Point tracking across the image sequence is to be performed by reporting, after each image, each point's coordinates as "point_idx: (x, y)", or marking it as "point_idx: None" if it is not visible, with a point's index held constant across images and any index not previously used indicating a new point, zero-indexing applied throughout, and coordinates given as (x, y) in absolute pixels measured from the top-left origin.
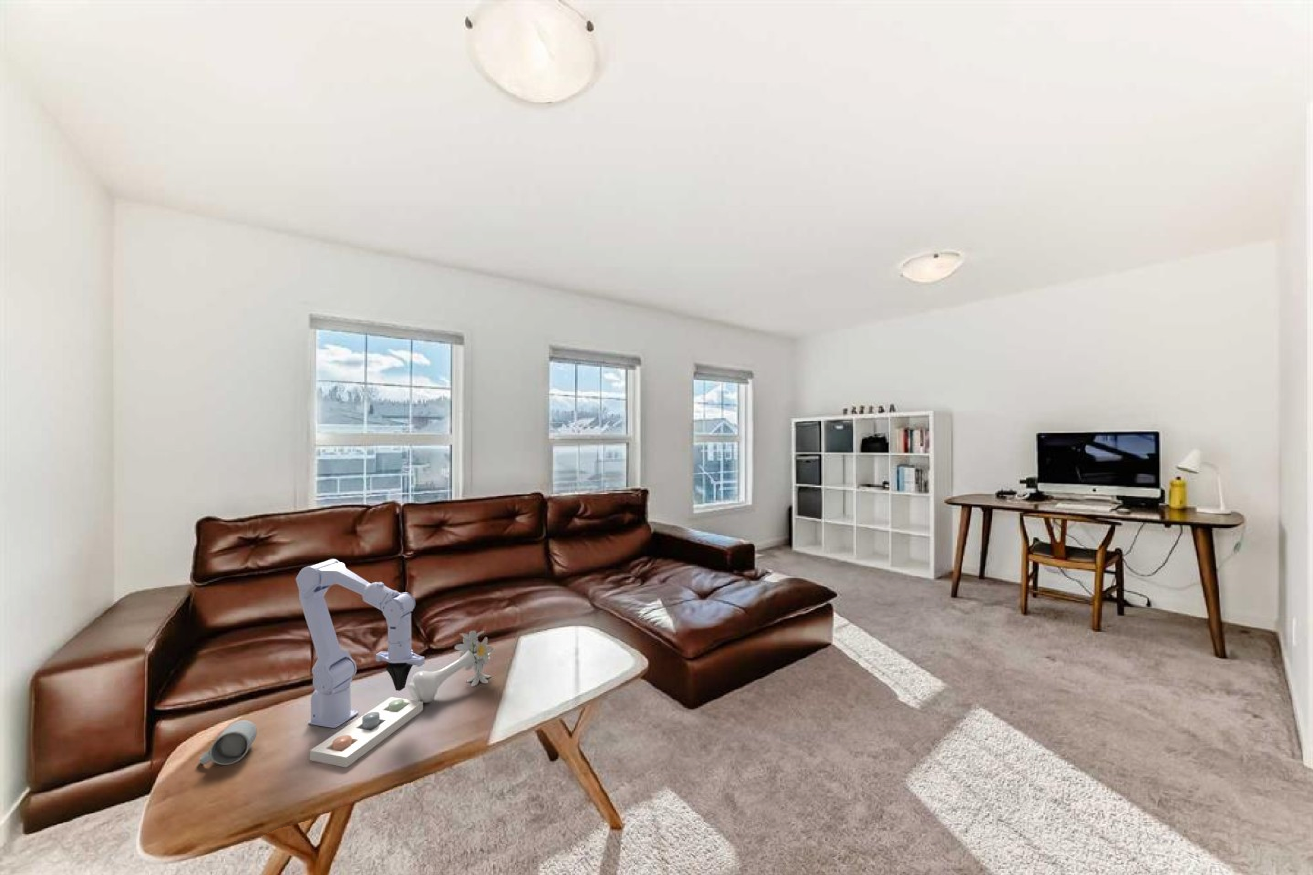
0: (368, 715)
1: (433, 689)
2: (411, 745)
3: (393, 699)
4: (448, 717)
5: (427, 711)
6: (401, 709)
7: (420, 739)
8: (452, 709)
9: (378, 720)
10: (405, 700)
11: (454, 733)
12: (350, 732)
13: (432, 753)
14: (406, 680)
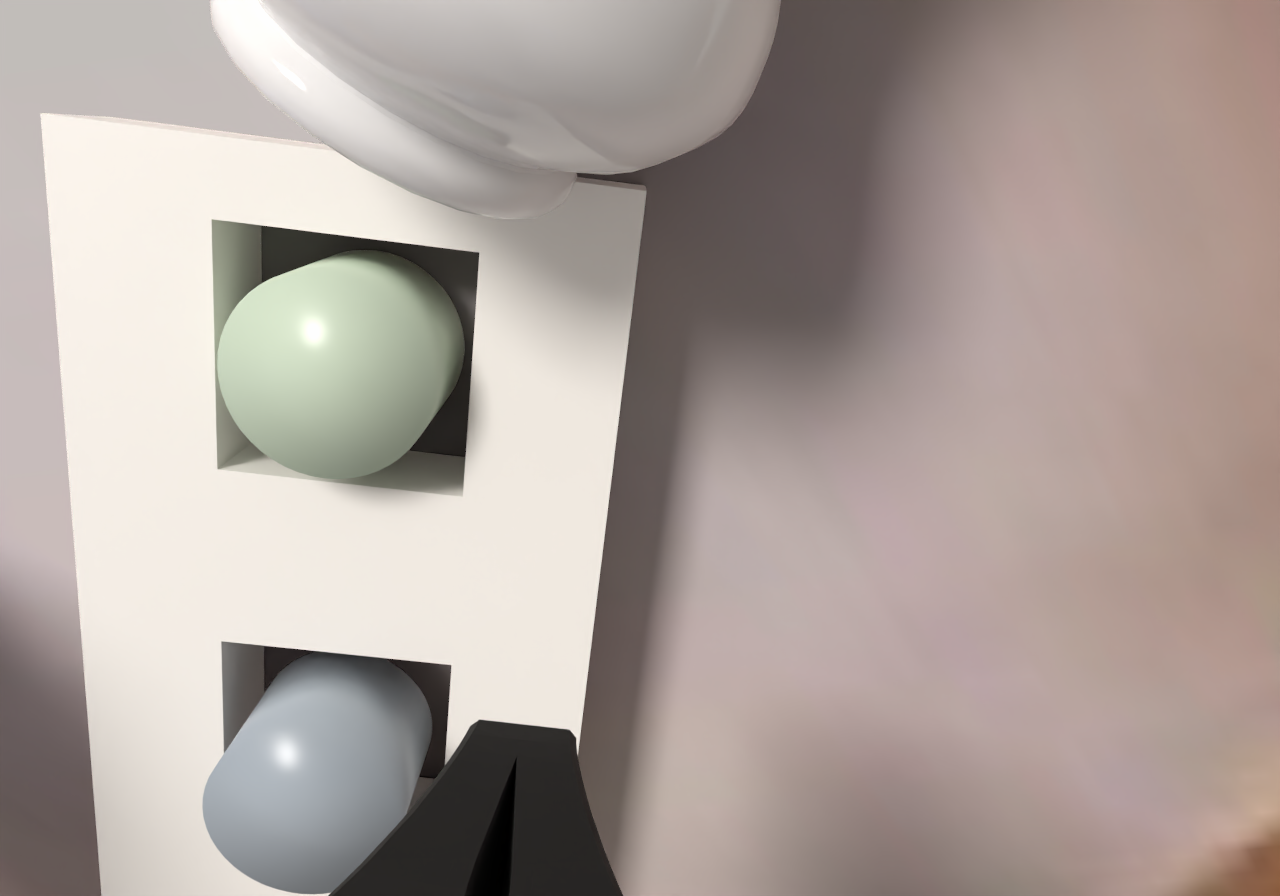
0: (264, 815)
1: (773, 35)
2: (907, 804)
3: (143, 184)
4: (1073, 310)
5: (727, 210)
6: (470, 424)
7: (946, 719)
8: (1049, 116)
9: (413, 767)
10: (352, 188)
11: (1264, 592)
12: (242, 894)
13: (1162, 874)
14: (588, 805)
